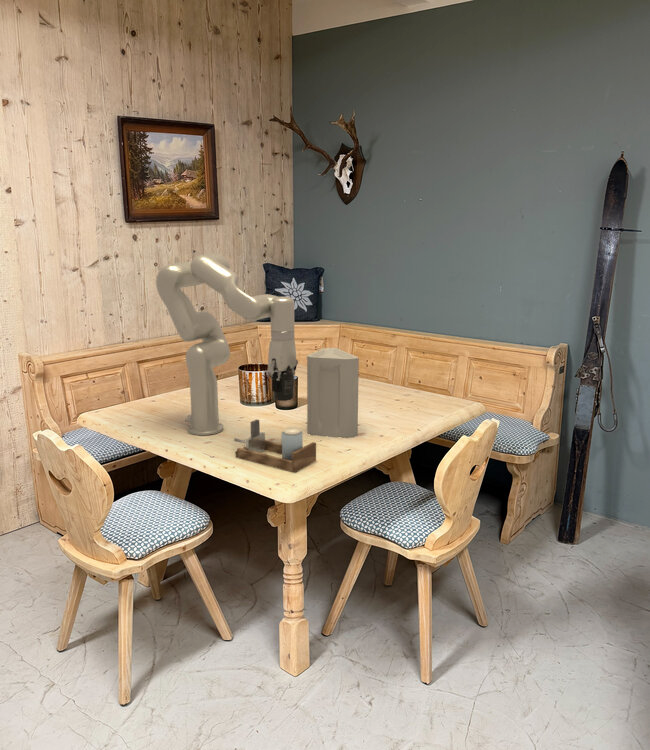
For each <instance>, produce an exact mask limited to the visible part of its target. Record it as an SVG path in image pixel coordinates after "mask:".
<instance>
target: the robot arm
mask: <svg viewBox="0 0 650 750" xmlns="http://www.w3.org/2000/svg"><path fill="white" fill-rule="evenodd" d="M156 275H157V276H156V279H155V280H156V281H155V285H156V290H157V293H158V295H159V297H160V299H161V301H162V302H163V304H164V305H165V308H166V309H167V312H168V313H169V316H170V318H171V321H172V323H173V325H174V327H175V330H176V331H177V334H178V335H179V337H180V339H181V340H182V341H184V342H186V343H187V342H196V341H198V340H199V341H200V340H201V342H198V343H195V344H193V345H191V346H190V347H189V348H188V349H187V350H186V354H185V363H186V366H187V371H188V372H187V373H188V375H189V376H188V378H189V390H190V392H189V393H190V394H189V395H190V413H189V414H187V416H186V417H185V419H184V421H185V422H188V423H189V425H188V426H187V432H188V433H189V434H191V435H196V436H209V435H210V436H211V435H215V434H218V433H221V432H222V431H224V425H223V424H222V423H221V422H220V419H219V417H220V415H219V392H218V389H219V387H218V379H217V376H216V374H215V372H214V368H215V367H218V366H221V365H224V364H226V363H227V362H228V361H229V359H230V358H231V357H230V356H231V350H230V349H231V348H230V346H229V342H228V340H227V338H226V337H225V334H224V332H223V329H222V328H221V325H220V323H219V321H218V320H217V318H216V317H215V316H214V315H213V314H212V313H210V312H209V311H196V309H195V307H194V305H193V303H192V301H191V299H190V298H189V296H188V295H187V294H186V293H185V292H184V291H182V288H188V287H194V286H199V285H203V284H205V285H207V286H208V287H209V288H211V289H213V290H214V291H215V292H217V293H218V294H220V295H221V296H222V300H223V301H224V304H225V305H226V306H227V307H228V308H229V309H230V310H231V311H232V312H234V313H235V314H236V315H238V316H239V317H241V318H243V319H245V320H247V321H257V320H262V319H266V318H270V342H269V346H268V355H267V358H268V359H267V370H266V372H267V374H268V375H269V377H270V380H271V384H272V385H271V389H272V393H273V392H279V393H280V392H281V380H280V377H281V373H282V372H283V371H285V370H286V368H287V367H288V366H290V370H291V371H292V372H293V375H294V376H295V375H296V370H297V366H298V365H299V360H298V359H297V350H296V349H297V348H296V340H295V301H294V300H295V299H294V298H292V297H290V296H277V295H273V294H270V293H269V294H268V293H266V294H265V293H264V294H259V295H254V296H253V295H252V296H250V295H249V294H247V293H245V292H244V291H242V290H241V289H240V288H238V286H239V283H240V281H239V280H240V279H239V275H238V273H236V272H235V271H233V270H231V269H230V263H229V261H228V259H227V258H226V257H225V256H224V255H223V254H221V253H214V252H213V253H204V254H199V255H197V256H195V257H194V258H193V259H192V261H185V262H184V261H183V262H174V263H169V264H166V265H164V266H162V267H161V268H160V270H159V271H158V272H157V274H156ZM276 369H278V370H276ZM275 373H278V375H276V374H275Z"/></svg>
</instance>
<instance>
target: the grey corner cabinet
mask: <svg viewBox="0 0 650 750" xmlns="http://www.w3.org/2000/svg"><path fill="white" fill-rule="evenodd" d="M359 360H360V358H359V357H358V356H356V355H353V354H351V353H349V352H346V351H344V350H342V349H339V348H337V347H326V348H325V347H324V348H322V349H319V350H316V351H314V352H312V353H309V354H307V355H306V367H307V368H306V383H307V384H306V389H307V390H306V394H307V395H306V396H307V397H306V401H307V403H306V404H307V405H306V406H307V408H306V409H307V410H306V411H307V412H306V413H307V414H306V417H307V418H306V419H307V422H306V424H307V426H306V429H307V434H308V435H309V434H310V435H309V436H313V435H318V436H317V437H326V436H328V437H329V438H338V437H341V438H342V439H350V437H351V438H356V437H355V436H357V437H358V435H359V434H358V429H359V427H358V426H359V379H360V377H359V374H360V372H359V370H360V368H359V367H360V364H359V363H360V361H359ZM341 438H340V439H341Z"/></svg>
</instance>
